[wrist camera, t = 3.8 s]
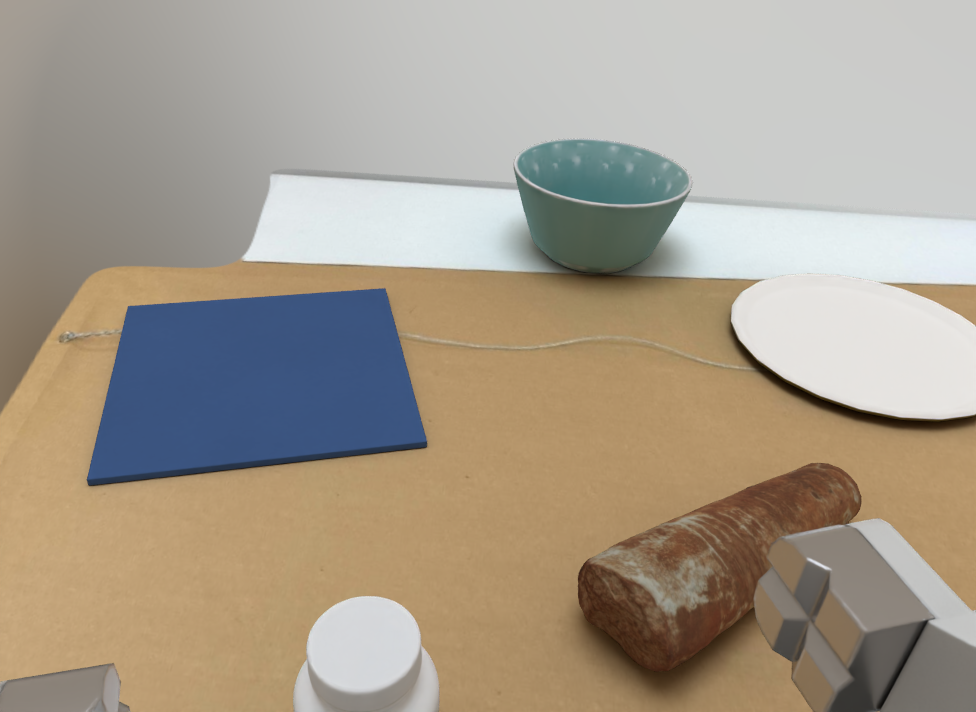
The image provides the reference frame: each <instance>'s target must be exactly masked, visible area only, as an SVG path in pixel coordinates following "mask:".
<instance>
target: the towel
mask: <svg viewBox="0 0 976 712" xmlns="http://www.w3.org/2000/svg"><path fill="white" fill-rule="evenodd" d="M423 447H427V440H426V436H425V433H424V429H423V425H422V422H421V418H420V414H419V411H418V407H417V403H416V400H415V396H414V392H413V388H412V385H411V381H410V377H409V374H408V370H407V366H406V363H405V359H404V355H403V352H402V348H401V344H400V341H399V337H398V333H397V330H396V326H395V322H394V319H393V315H392V311H391V308H390V304H389V300H388V297H387V293H386V289H385V288H384V289H369V290H355V291H341V292H326V293H312V294H297V295H283V296H269V297H254V298H240V299H225V300H211V301H197V302H182V303H168V304H153V305H139V306H128V309H127V313H126V317H125V321H124V326H123V330H122V334H121V338H120V342H119V347H118V351H117V355H116V359H115V363H114V368H113V372H112V376H111V380H110V385H109V389H108V393H107V397H106V401H105V406H104V410H103V414H102V418H101V422H100V427H99V431H98V435H97V439H96V443H95V448H94V452H93V456H92V460H91V464H90V469H89V473H88V477H87V482H88V485H98V484H107V483H116V482H124V481H133V480H142V479H151V478H160V477H168V476H177V475H186V474H195V473H203V472H212V471H221V470H230V469H239V468H247V467H256V466H265V465H274V464H282V463H291V462H300V461H309V460H317V459H326V458H335V457H344V456H353V455H361V454H370V453H379V452H388V451H396V450H405V449H414V448H423Z"/></svg>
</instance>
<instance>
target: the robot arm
mask: <svg viewBox="0 0 976 712" xmlns="http://www.w3.org/2000/svg"><path fill="white" fill-rule="evenodd" d="M766 557H767V559H768V560H769V562H770V564H771V565H772V567H771V568H770V569H769V570H768V571H767V572H766V573H765V574H764V575H763V576H762V577H761V578H760V579H759V580H758V583H757V586H756V590H755V593H754V597H753V599H754V607H755V615H756V619H757V622H758V624H759V627H760V629H761V632H762V634H763V636H764V637H765V639H766V640H767V642H768V643H769V645H770V647H771V648H772V650H774V651H775V652H777V653H779V654H780V655H782V656H783V657H785V658H787V659H788V660H790V661H792V680H793V682H794V683H795V685H796V686H797V688H798V689H799V691H800V692H801V694H802V695H803V697H804V698H805V700H806V702H807V703H808V705H809V706H810V708H811V709H812V711H813V712H877V711H880V712H976V610H973V611H971V610H970V609H969V608H968V607H967V605H966V604H965V603H964V602H963V601H962V600H961V599H960V598H959V597H958V596H957V595H956V594H955V593H954V592H953V590H952V589H951V588H950V587H949V586H948V585H947V584H946V583H945V582H944V581H943V580H942V579H941V578H940V577H939V576H938V574H937V573H936V572H935V571H934V570H933V569H932V568H931V567H930V566H929V565H928V564H927V563H926V562H925V561H924V560H923V558H922V557H921V556H920V555H919V554H918V553H917V552H916V551H915V550H914V549H913V548H912V547H911V546H910V545H909V543H908V542H907V541H906V540H905V539H904V538H903V537H902V536H901V535H900V534H899V533H898V532H897V531H896V530H895V529H894V527H893V526H892V525H890V524H889V523H887V522H885V521H883V520H881V519H880V518H878V519H871V520H865V521H860V522H855V523H850V524H846V525H835V526H830V527H825V528H820V529H815V530H810V531H805V532H800V533H796V534H791V535H786V536H781V537H779V538H777V539H776V540H775V541H774V542H773V543H771V546H770V548H769V551H768V554H767V556H766ZM120 685H121V681H120V678H119V675H118V673H117V670H116V668H115V665H114V663H112V664H105V665H99V666H93V667H87V668H81V669H75V670H68V671H62V672H56V673H50V674H44V675H38V676H32V677H25V678H19V679H13V680H7V681H1V682H0V712H130V708H129V706H127V705H125V704H123V703H121V702H119V696H120Z"/></svg>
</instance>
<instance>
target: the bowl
mask: <svg viewBox="0 0 976 712" xmlns="http://www.w3.org/2000/svg"><path fill="white" fill-rule="evenodd" d="M514 171H515V175H516V180H517V184H518V188H519V192H520V196H521V200H522V204H523V208H524V212H525V215H526V219H527V222H528V225H529V229H530V232H531V236H532V238H533V241H534V243H535V244H536V245H537V246H538V247H539V249H541V250H542V251H543V252H544V253H545V254H546V255H547V256H548V257H550V258H551V259H552V260H553V261H555V262H556V263H558V264H560V265H562V266H565V267H567V268H570V269H574V270H578V271H583V272H590V273H612V272H618V271H622V270H625V269H627V268H629V267H631V266H633V265H635V264H637V263H640V262H642V261H643V260H645V259H646V258H648V257H649V256H650V255H651V253H652V252H653V250H654V249H655V247H656V246H657V244H658V242H659V241H660V239H661V238H662V236H663V235H664V233H665V232H666V230H667V229H668V227H669V225H670V224H671V222H672V221H673V219H674V217H675V216H676V214H677V212H678V211H679V209H680V207H681V206H682V204H683V202H684V201H685V199H686V197H687V195H688V193H689V192H690V190H691V188H692V178H691V176H690V174H689V173H688V172H687V170H686V169H685V168H684V167H682V166H681V165H680V164H678V163H677V162H675V161H673V160H672V159H670V158H668V157H666V156H664V155H661V154H659V153H656V152H654V151H651V150H648V149H645V148H641V147H638V146H634V145H630V144H625V143H620V142H614V141H607V140H598V139H559V140H551V141H546V142H541V143H538V144H535V145H532V146H529V147H528V148H526V149H524V150H522V151H521V152H520V153H519V154H518V155H517V156H516V158H515V160H514Z"/></svg>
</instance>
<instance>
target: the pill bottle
mask: <svg viewBox="0 0 976 712" xmlns="http://www.w3.org/2000/svg"><path fill="white" fill-rule="evenodd" d="M306 651H307V660H306V661H305V663H304V664H303V666H302V668H301V670H300V672H299V674H298V677H297V679H296V683H295V687H294V694H293V707H294V712H439V681H438V676H437V672H436V668H435V666H434V663H433V661H432V659H431V657H430V656H429V654H428V653H427V652H426V650H425V649H424V648H423V647H422V646H421V635H420V630H419V627H418V625H417V622H416V621H415V619H414V618H413V616H412V615H411V614H410V613H409V611H408V610H406V609H405V608H404V607H403V606H401V605H400V604H398V603H396V602H394V601H392V600H389V599H386V598H382V597H376V596H362V597H355V598H351V599H347V600H345V601H342V602H340V603H338V604H336V605H334V606H333V607H331V608H330V609H328V610H327V611H326V612H325V613H323V614H322V615H321V617H320V618H319V619H318V620H317V621H316V623H315V624H314V626H313V628H312V629H311V632H310V634H309V637H308V641H307V648H306Z"/></svg>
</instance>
